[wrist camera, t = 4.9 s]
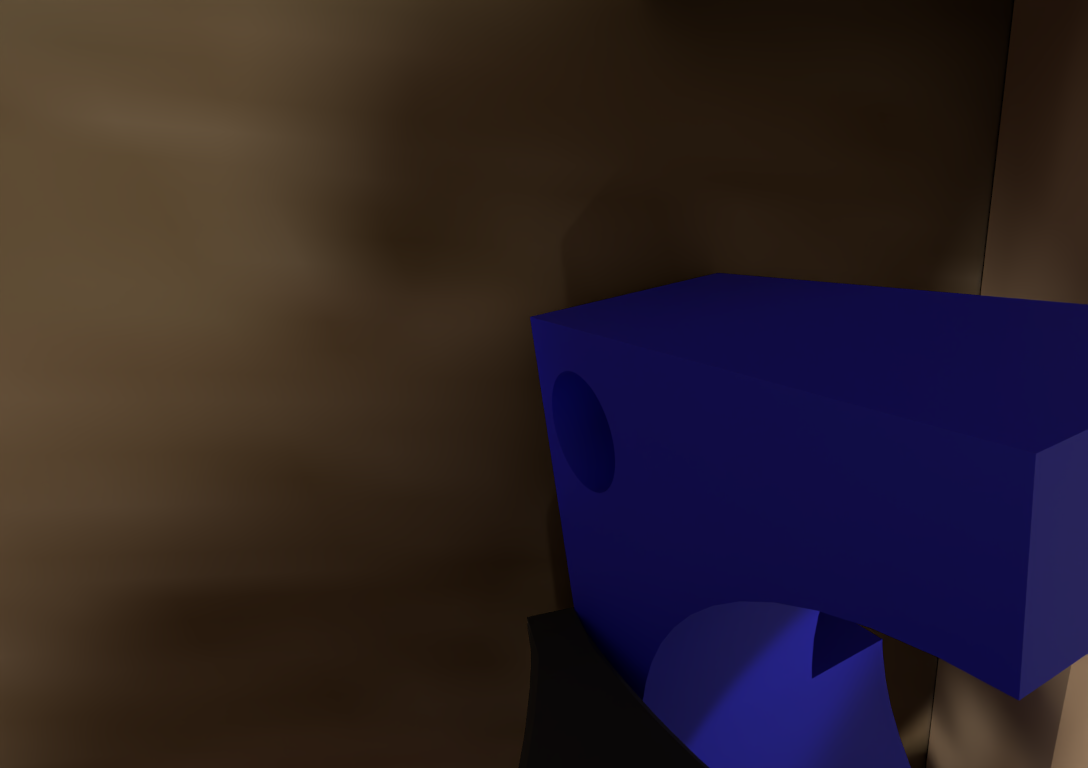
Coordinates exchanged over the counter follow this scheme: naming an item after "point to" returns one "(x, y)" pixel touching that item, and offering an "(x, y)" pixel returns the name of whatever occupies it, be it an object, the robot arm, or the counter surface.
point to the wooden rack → (1036, 274)
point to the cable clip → (817, 500)
